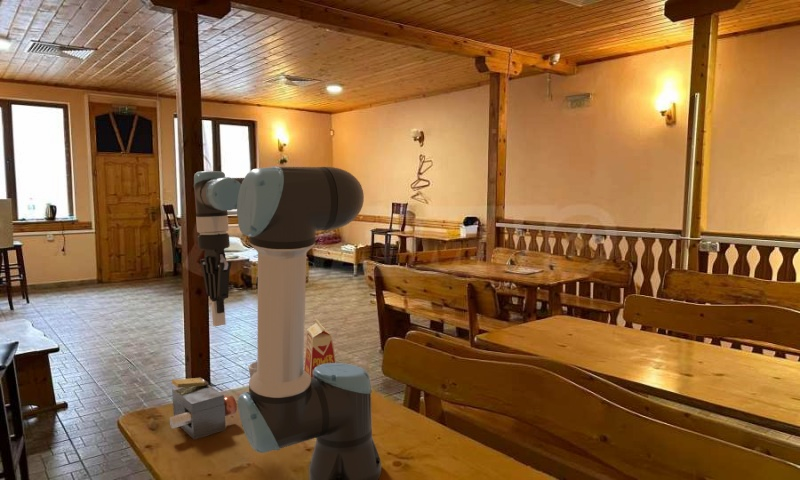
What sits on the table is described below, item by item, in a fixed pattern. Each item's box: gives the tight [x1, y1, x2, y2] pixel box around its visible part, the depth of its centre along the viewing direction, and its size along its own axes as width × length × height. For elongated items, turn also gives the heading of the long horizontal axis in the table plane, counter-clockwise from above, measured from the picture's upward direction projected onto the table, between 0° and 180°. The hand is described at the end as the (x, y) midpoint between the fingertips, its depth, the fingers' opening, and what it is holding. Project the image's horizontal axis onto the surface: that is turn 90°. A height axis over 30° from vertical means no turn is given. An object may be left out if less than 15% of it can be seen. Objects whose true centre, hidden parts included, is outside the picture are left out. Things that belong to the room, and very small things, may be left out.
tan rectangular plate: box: [171, 377, 210, 388], centre depth 143 cm, size 5×8×1 cm, turn 131°
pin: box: [169, 395, 238, 430], centre depth 137 cm, size 5×16×5 cm, turn 131°
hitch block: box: [171, 384, 227, 441], centre depth 140 cm, size 14×8×9 cm, turn 41°
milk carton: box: [303, 318, 337, 377], centre depth 166 cm, size 9×9×20 cm
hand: (219, 324), depth 141 cm, fingers closed
